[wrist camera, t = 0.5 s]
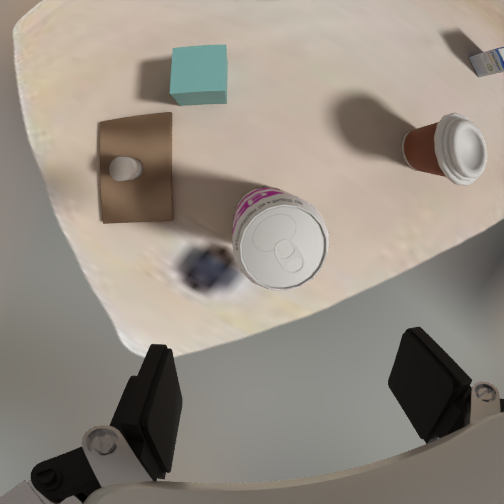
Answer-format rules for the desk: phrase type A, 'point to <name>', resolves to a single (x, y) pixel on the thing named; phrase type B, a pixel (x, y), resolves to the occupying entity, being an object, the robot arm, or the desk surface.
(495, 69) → the medicine box
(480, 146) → the coffee cup
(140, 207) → the post board
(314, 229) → the supplement can
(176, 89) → the teal cube
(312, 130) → the desk surface
